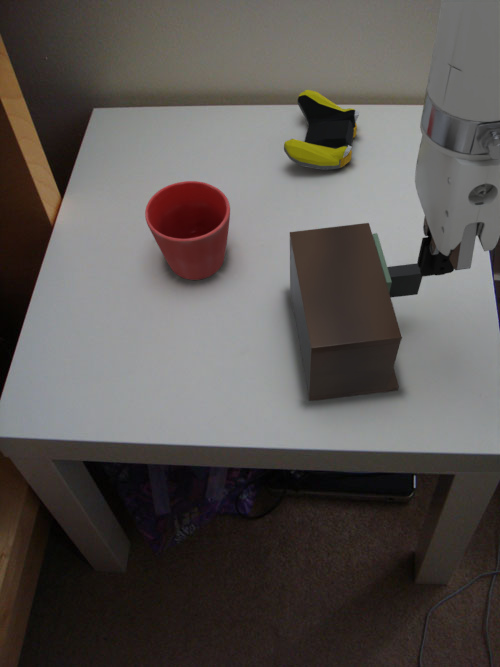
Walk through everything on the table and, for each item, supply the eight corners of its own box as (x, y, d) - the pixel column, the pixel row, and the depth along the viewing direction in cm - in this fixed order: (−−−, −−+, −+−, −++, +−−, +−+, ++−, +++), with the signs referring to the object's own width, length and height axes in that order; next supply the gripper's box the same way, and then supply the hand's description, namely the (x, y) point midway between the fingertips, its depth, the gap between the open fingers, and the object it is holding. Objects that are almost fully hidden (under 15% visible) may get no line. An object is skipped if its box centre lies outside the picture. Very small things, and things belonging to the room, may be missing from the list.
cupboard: (369, 284, 79) (380, 221, 69) (397, 390, 71) (415, 335, 61) (290, 293, 79) (289, 231, 69) (308, 401, 71) (311, 348, 61)
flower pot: (201, 218, 88) (191, 167, 80) (251, 259, 83) (246, 209, 75) (143, 258, 84) (127, 208, 76) (192, 302, 80) (181, 255, 72)
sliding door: (399, 278, 78) (411, 228, 70) (413, 325, 74) (427, 277, 66) (364, 282, 78) (372, 233, 70) (376, 329, 74) (386, 282, 66)
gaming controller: (281, 176, 92) (346, 183, 90) (281, 147, 87) (349, 154, 85) (299, 114, 100) (359, 119, 98) (299, 84, 95) (363, 90, 93)
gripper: (564, 172, 40) (496, 325, 55) (493, 46, 48) (451, 209, 64) (452, 188, 40) (415, 335, 56) (400, 60, 48) (381, 219, 64)
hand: (434, 268), depth 60 cm, fingers closed
